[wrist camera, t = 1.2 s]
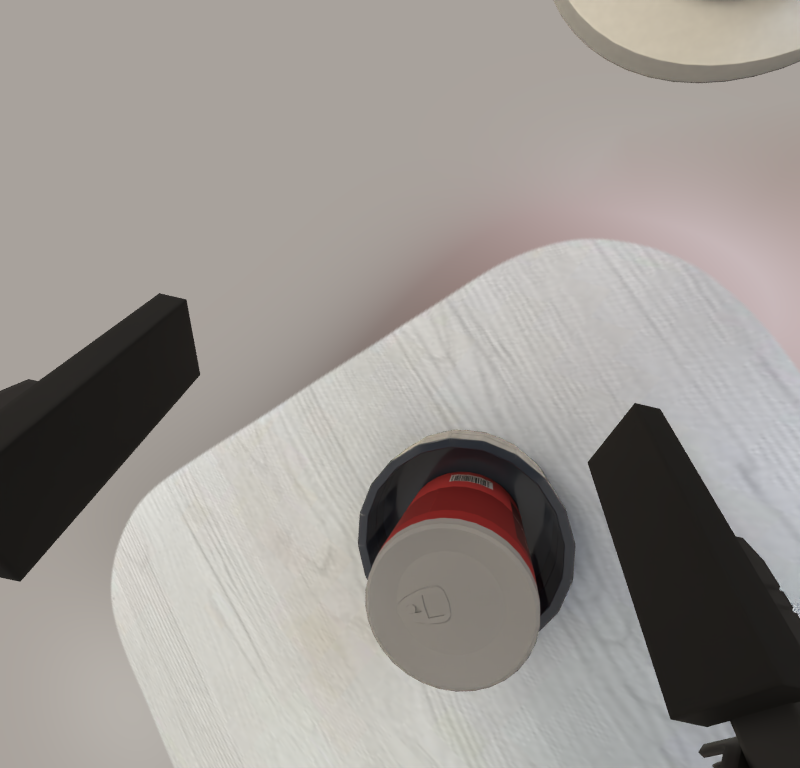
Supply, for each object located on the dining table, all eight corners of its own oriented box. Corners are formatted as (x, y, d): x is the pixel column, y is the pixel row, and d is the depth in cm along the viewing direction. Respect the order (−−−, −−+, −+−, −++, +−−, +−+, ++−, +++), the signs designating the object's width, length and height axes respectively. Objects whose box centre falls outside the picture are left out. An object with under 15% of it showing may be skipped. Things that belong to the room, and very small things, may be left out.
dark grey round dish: (452, 392, 28) (445, 394, 24) (603, 518, 26) (626, 545, 22) (344, 521, 30) (320, 545, 26) (476, 648, 28) (473, 697, 24)
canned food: (391, 501, 29) (334, 570, 18) (482, 447, 28) (478, 489, 17) (445, 593, 28) (419, 722, 18) (543, 543, 27) (579, 651, 16)
